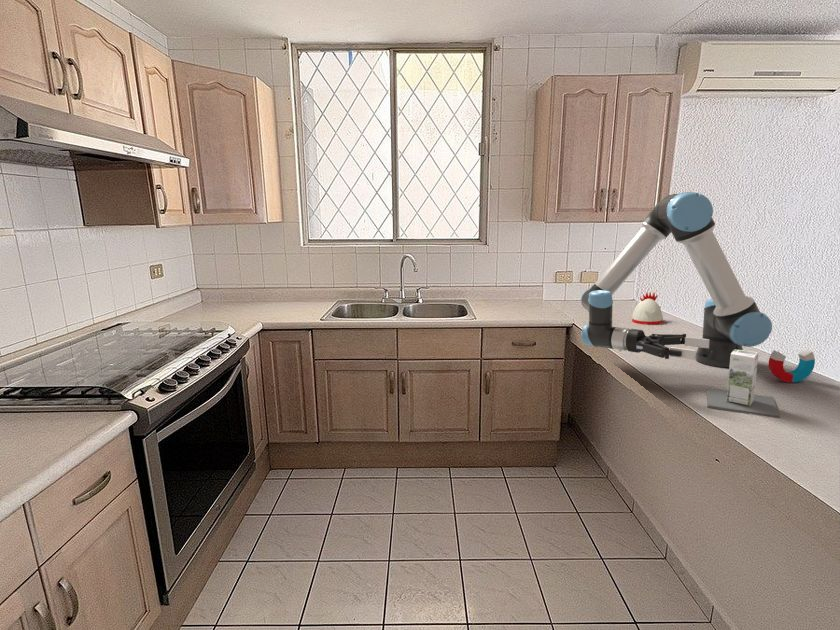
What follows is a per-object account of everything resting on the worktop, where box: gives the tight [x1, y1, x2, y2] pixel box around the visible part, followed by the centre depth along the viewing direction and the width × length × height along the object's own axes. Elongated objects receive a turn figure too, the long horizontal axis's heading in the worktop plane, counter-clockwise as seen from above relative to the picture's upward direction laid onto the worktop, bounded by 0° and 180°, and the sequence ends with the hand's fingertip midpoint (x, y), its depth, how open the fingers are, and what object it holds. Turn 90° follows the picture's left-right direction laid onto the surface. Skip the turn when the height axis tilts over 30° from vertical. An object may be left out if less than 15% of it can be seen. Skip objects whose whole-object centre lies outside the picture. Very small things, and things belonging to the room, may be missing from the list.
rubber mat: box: [706, 388, 780, 418], centre depth 129 cm, size 14×16×1 cm
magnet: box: [768, 349, 816, 383], centre depth 142 cm, size 12×3×10 cm, turn 84°
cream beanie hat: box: [631, 291, 664, 326], centre depth 227 cm, size 14×14×15 cm
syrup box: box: [726, 349, 759, 406], centre depth 128 cm, size 6×6×14 cm
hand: (702, 349), depth 135 cm, fingers open, 13 cm apart
